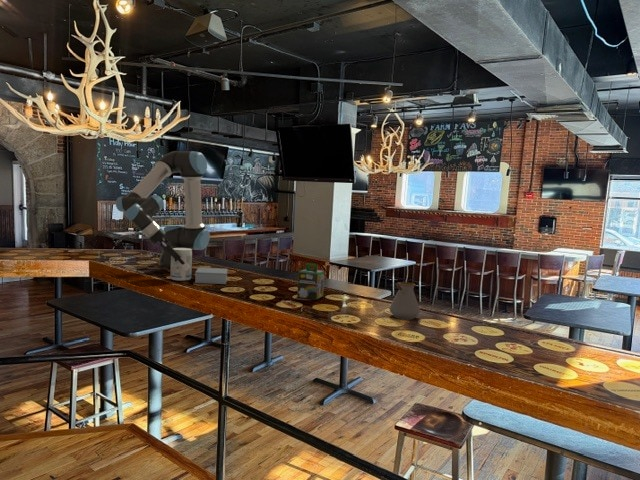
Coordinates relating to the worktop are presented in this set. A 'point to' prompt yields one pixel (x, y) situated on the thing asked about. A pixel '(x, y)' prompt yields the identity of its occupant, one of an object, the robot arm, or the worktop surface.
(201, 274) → the slate-blue box
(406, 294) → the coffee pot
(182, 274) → the supplement tub
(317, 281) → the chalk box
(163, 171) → the robot arm
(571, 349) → the worktop surface
